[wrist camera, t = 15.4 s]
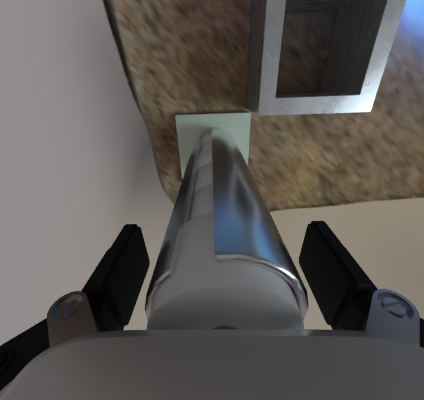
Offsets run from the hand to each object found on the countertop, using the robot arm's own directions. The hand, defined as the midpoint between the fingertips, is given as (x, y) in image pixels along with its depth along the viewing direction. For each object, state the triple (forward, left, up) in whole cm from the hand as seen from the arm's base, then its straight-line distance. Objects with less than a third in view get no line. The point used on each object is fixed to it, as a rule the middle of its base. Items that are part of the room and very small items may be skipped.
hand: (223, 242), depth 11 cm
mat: (0, 0, -21) cm, 21 cm away
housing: (-11, +10, -21) cm, 25 cm away
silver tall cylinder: (0, 0, -20) cm, 20 cm away
